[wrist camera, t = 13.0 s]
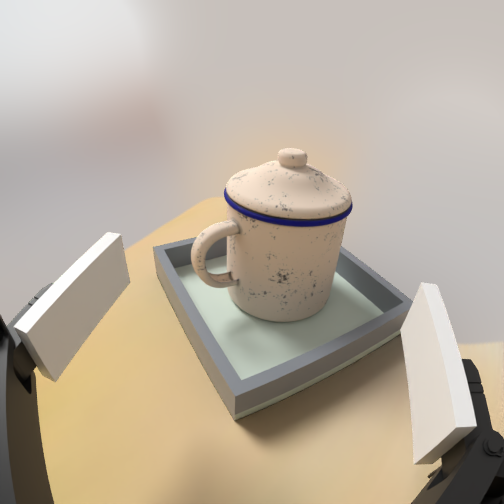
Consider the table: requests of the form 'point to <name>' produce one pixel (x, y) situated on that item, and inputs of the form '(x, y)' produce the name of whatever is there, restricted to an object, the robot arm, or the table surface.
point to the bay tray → (277, 328)
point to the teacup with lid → (278, 238)
